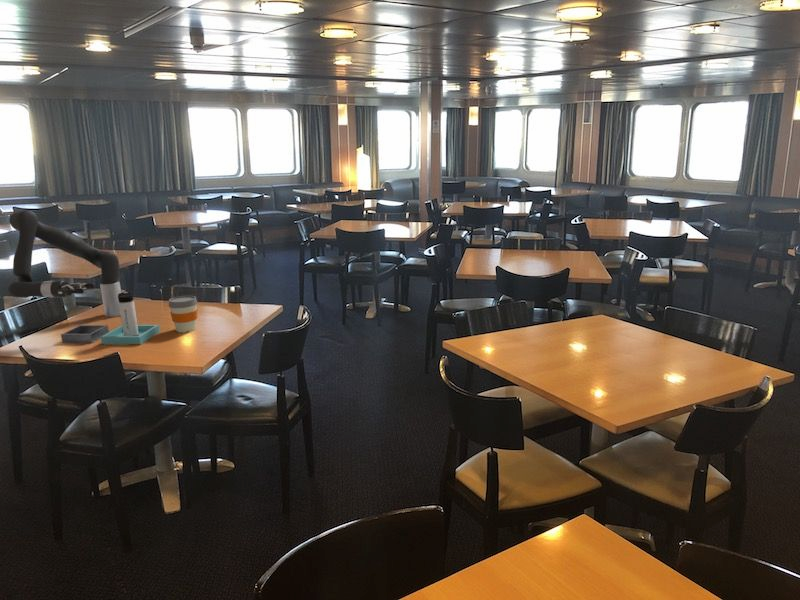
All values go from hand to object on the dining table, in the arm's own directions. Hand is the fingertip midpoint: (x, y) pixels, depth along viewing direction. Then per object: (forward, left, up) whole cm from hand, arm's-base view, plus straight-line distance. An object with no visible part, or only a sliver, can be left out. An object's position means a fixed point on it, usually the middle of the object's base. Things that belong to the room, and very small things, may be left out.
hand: (88, 288), depth 277 cm
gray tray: (0, -5, -23) cm, 24 cm away
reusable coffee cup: (-13, +37, -24) cm, 46 cm away
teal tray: (0, +17, -23) cm, 29 cm away
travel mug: (0, +17, -23) cm, 28 cm away
